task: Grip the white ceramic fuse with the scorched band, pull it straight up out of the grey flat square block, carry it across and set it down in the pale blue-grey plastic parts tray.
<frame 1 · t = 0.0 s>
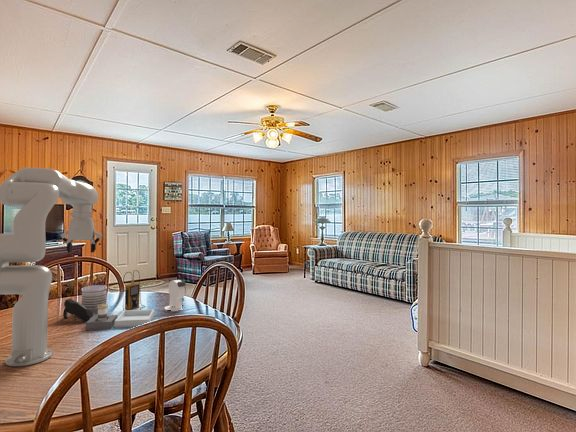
hand: (81, 252, 158), 31 cm above the table, tool pointing down, fingers open, 9 cm apart
multimeter: (137, 310, 175), on the table
grey flat square block: (102, 325, 149), on the table
gun: (78, 320, 156), on the table
can: (93, 311, 171), on the table
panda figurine: (176, 308, 179), on the table
parts tray: (135, 321, 156), on the table
fuse: (102, 315, 149), in the grey flat square block
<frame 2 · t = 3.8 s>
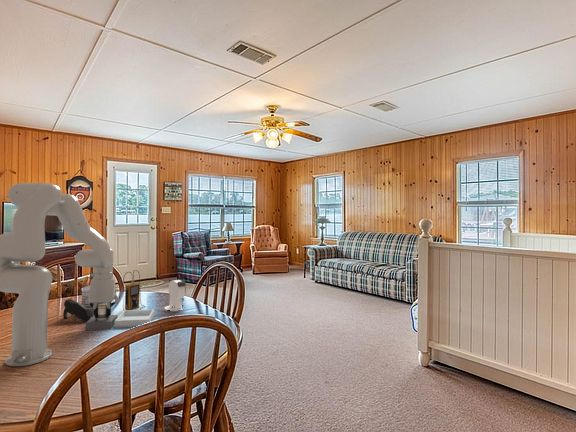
hand: (102, 316, 149), 4 cm above the table, tool pointing down, fingers closed on fuse, 3 cm apart
fuse: (102, 315, 149), in the grey flat square block, touching gripper
everything else where it was.
when the fingers open (6 cm above the table, at t = 9.7 s): fuse drops 2 cm, resting on parts tray.
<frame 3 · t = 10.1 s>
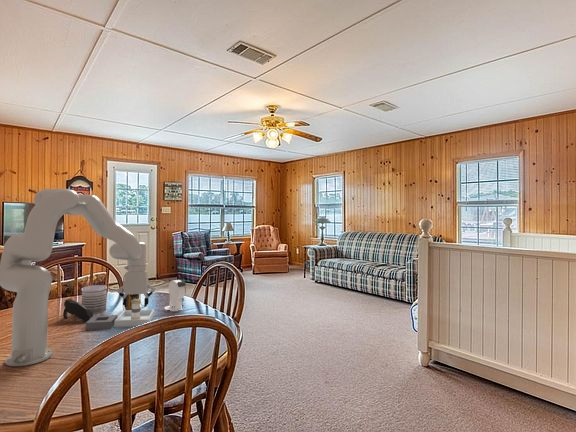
hand: (135, 306, 156), 7 cm above the table, tool pointing down, fingers open, 8 cm apart
fuse: (135, 309, 156), in the parts tray, point 5 cm above the table
everything else where it was.
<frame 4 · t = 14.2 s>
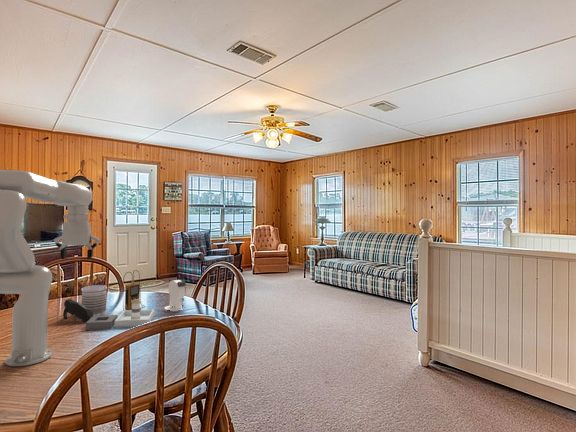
hand: (76, 258, 142), 30 cm above the table, tool pointing down, fingers open, 9 cm apart
nothing on the table moved.
at the end: fuse inside the target area on the parts tray (0.1 cm from its centre), point 5.3 cm above the parts tray's base; fuse moved 13.6 cm from its start; the gripper is holding nothing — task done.
